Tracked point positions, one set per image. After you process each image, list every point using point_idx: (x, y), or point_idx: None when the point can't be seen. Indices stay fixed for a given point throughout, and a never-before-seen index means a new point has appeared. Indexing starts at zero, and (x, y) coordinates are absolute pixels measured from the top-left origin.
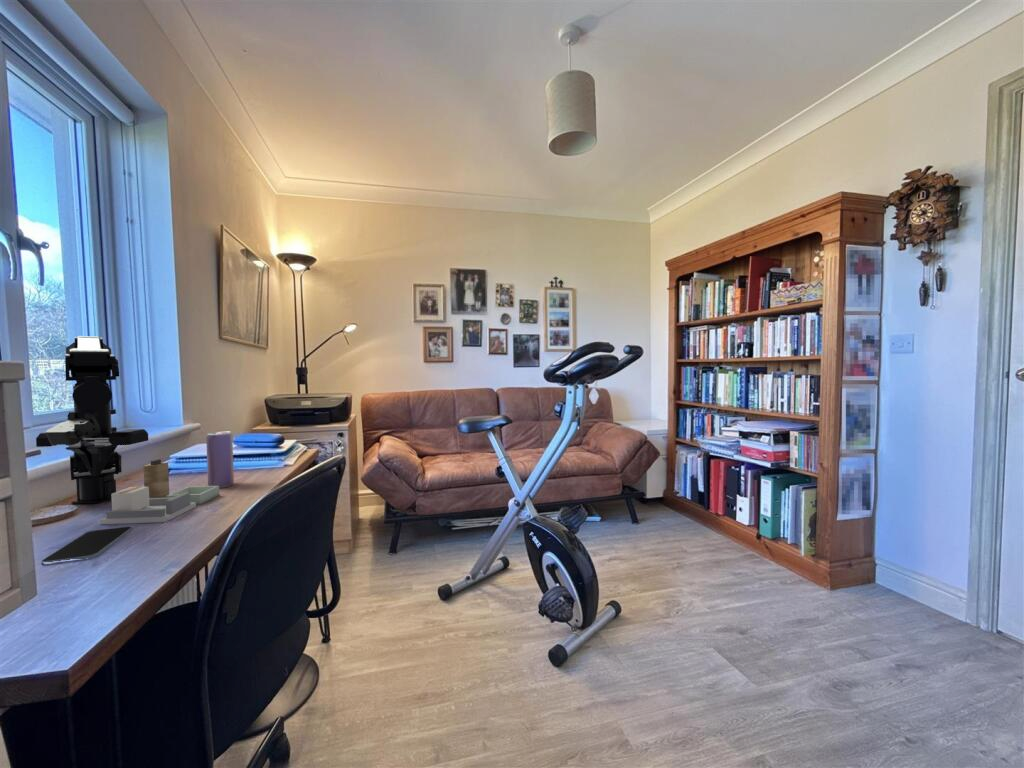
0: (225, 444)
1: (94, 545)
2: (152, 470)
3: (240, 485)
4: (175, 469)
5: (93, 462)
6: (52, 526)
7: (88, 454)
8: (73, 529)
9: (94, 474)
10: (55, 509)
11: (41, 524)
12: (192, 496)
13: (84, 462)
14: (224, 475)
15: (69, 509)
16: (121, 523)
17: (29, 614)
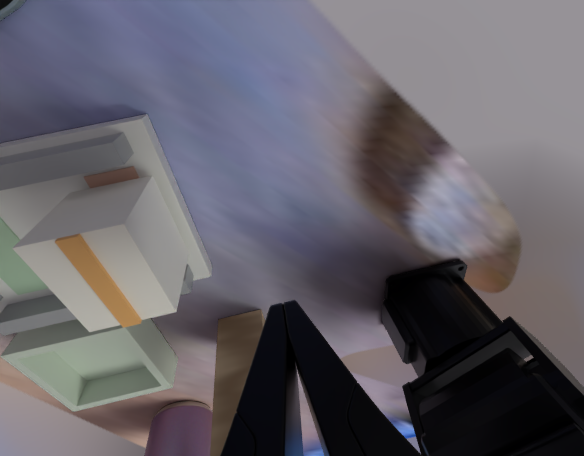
0: None
1: None
2: None
3: (132, 425)
4: (414, 434)
5: (269, 404)
6: (330, 73)
7: None
8: (193, 43)
9: (275, 311)
10: (473, 222)
11: (397, 92)
12: (33, 343)
13: (352, 386)
14: (146, 451)
15: (431, 228)
16: (58, 132)
17: None
